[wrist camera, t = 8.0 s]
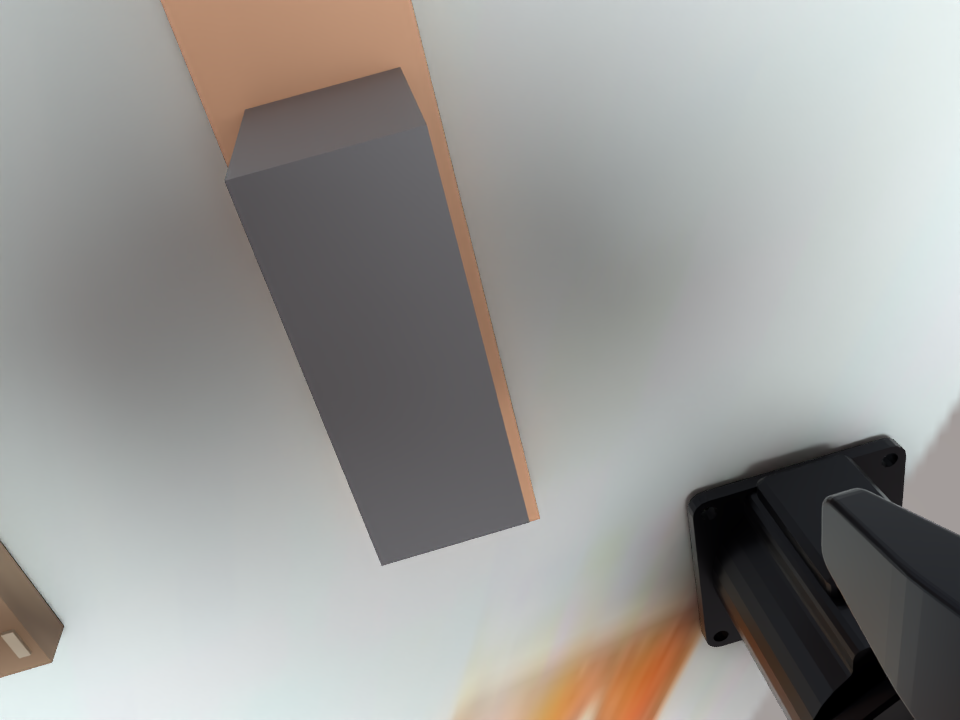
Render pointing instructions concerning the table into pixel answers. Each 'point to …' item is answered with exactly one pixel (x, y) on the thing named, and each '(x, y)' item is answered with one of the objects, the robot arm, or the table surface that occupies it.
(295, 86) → the stub
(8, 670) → the brown flat board
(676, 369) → the table surface
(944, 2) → the table surface
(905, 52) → the table surface
